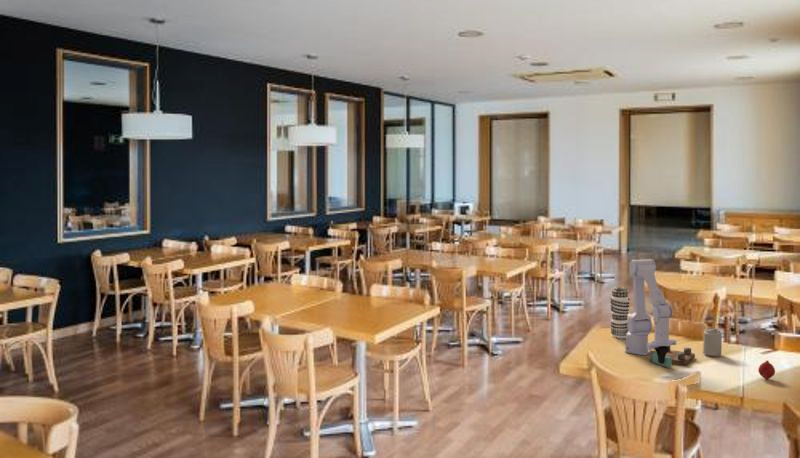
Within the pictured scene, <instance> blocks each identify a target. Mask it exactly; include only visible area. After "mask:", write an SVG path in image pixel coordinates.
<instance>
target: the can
mask: <svg viewBox="0 0 800 458" xmlns="http://www.w3.org/2000/svg"><path fill="white" fill-rule="evenodd" d="M722 340H723V334H722V332H721V329H720V328H716V327H707V328H705V329H704V331H703V344H702V345H703V346H702V347H703V348H702V353H703V354H704V355H705V356H707V357H711V358H717V357H716V356H718V357H720V356H721V355H722V350H723V349H722V348H723V347H722V343H723V341H722Z"/></svg>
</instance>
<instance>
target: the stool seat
mask: <svg viewBox="0 0 800 458" xmlns="http://www.w3.org/2000/svg"><path fill="white" fill-rule="evenodd" d="M667 347H668V348H669V350H668V352H667V354H666V356H668V357H671V358H672V365H675V366H676V365H678V366H683V367H687V366H688V365H690V363H691V362H692V361H693V360H694V359H696V358H695V357H696V353H693V352H692V348H691V347H684V348H683V351H679V350H673V349H671V345H670V346H667Z"/></svg>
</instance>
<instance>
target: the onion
mask: <svg viewBox="0 0 800 458" xmlns="http://www.w3.org/2000/svg"><path fill="white" fill-rule="evenodd" d="M757 371H758V373H759V374H760V377H762V378H763V379H765V380H766V381H767V380H769V379H771V378H772V377H774V376H775V374H776V369H775V366H774V365H773V364H772V363H771V362H769V360H765V361H764V362H762V363H761V364H760V365H759V367H758V370H757Z"/></svg>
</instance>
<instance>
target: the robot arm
mask: <svg viewBox="0 0 800 458" xmlns="http://www.w3.org/2000/svg"><path fill="white" fill-rule="evenodd" d="M656 266H657V265H656V262H655V260H654V259H653V258H649V259H647V258H646V259H632V260H630V263H629V277H631V278H632V288H633V289H632V291H633V312H632V313H631V314H630V315H629V316H628V323H627V328H628V333H627V335H626V338H625V351H624V353H626V354H632V355H633V354H634V355H639V356H647V355H648V354H650V351H651V350H652V349H654V351H656V353H657V355H658V363H661V364H663V363H664V359H665V356H666V354H667V352H668V350H669V348H668V347H667V346H670V347H671V346H677V340H675V339H670V318H671V317H672V315H673V308H672V306H671V305H670V304H669V302H667V301H666V298H665V296H664V293H663V291H662V290H661V289H659V287H658V283H657V277H656V275H655V273H656V271H657V269H656ZM645 283H646V285H647V286H646V287H648V290H649V293H648V297H649V299H650V302H651V304H652V313H651V314H652V317H653V322H654V340H653V341H651V342H649V335H650V333H652V330H653V323H652V317H651V315H649V314H648V313H646V291H645V289H646V288H645Z"/></svg>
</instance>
